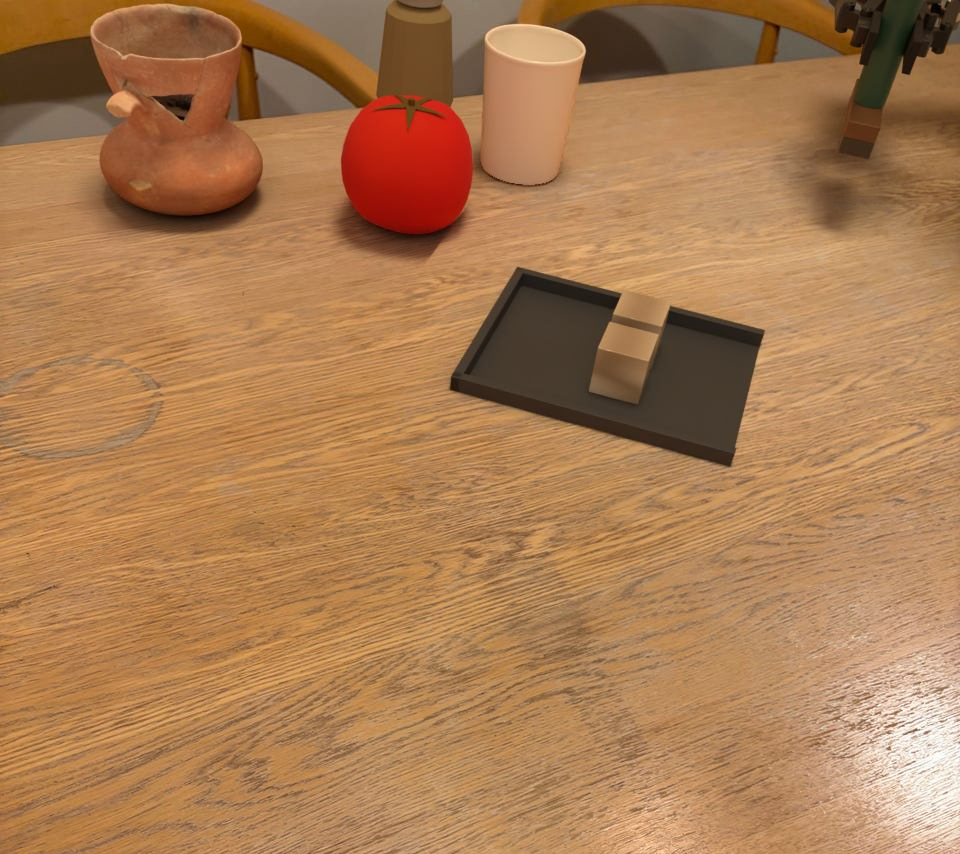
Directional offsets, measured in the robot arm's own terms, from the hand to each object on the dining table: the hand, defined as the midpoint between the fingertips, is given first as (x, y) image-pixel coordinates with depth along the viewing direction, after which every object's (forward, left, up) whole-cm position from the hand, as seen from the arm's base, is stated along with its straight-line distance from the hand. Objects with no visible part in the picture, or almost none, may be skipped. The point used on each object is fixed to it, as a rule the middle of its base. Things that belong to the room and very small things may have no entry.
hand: (890, 53), depth 93 cm
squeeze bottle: (+29, +34, -17) cm, 48 cm away
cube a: (-16, +33, -15) cm, 39 cm away
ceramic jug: (+21, +60, -17) cm, 66 cm away
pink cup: (+19, +26, -17) cm, 36 cm away
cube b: (-19, +36, -15) cm, 44 cm away
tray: (-17, +35, -17) cm, 42 cm away
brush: (+4, -4, -9) cm, 11 cm away
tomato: (+11, +42, -17) cm, 47 cm away
